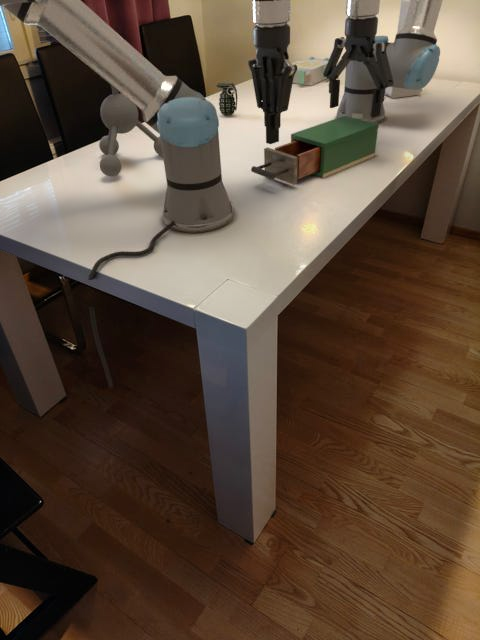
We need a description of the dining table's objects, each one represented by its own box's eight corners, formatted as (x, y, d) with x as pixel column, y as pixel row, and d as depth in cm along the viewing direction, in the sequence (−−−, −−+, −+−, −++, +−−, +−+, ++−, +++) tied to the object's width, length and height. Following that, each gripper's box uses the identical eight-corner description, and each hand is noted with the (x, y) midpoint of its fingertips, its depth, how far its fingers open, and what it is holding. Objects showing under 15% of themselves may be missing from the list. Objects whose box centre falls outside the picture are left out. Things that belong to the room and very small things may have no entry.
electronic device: (391, 98, 176) (404, -1, 158) (381, 93, 182) (392, -2, 163) (421, 94, 178) (438, -4, 160) (410, 90, 184) (425, -5, 166)
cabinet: (323, 177, 122) (325, 143, 117) (290, 166, 129) (290, 134, 124) (374, 156, 132) (378, 123, 127) (341, 146, 139) (344, 115, 134)
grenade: (217, 117, 168) (214, 86, 162) (221, 112, 172) (219, 82, 166) (235, 117, 166) (233, 86, 160) (239, 113, 171) (238, 82, 165)
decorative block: (302, 55, 216) (343, 58, 206) (301, 71, 220) (342, 74, 210) (270, 66, 200) (313, 70, 190) (270, 83, 204) (313, 88, 194)
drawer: (276, 192, 114) (276, 165, 110) (247, 180, 120) (246, 154, 116) (346, 163, 126) (348, 137, 122) (316, 153, 133) (318, 129, 129)
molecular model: (186, 167, 131) (171, 41, 113) (104, 183, 125) (74, 52, 107) (164, 142, 149) (148, 29, 130) (91, 155, 143) (64, 38, 125)
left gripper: (308, 24, 96) (304, 144, 111) (263, 20, 104) (265, 132, 119) (280, 29, 93) (280, 152, 107) (236, 24, 101) (242, 140, 115)
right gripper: (417, 17, 108) (403, 116, 121) (331, 11, 123) (327, 100, 137) (397, 22, 104) (384, 124, 118) (311, 15, 120) (309, 106, 133)
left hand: (272, 142), depth 113 cm, fingers closed
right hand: (354, 111), depth 127 cm, fingers open, 13 cm apart
